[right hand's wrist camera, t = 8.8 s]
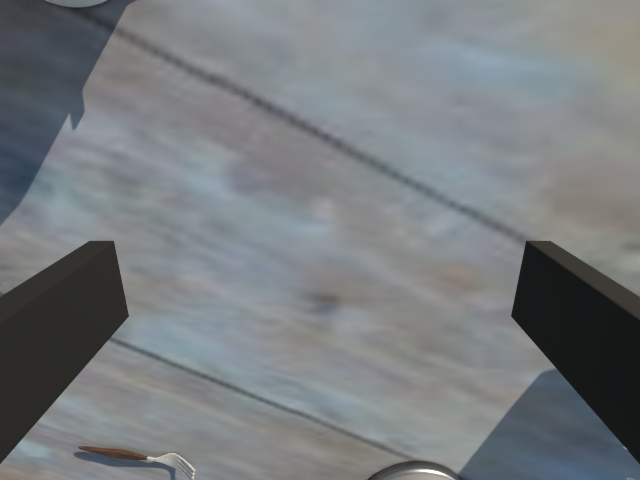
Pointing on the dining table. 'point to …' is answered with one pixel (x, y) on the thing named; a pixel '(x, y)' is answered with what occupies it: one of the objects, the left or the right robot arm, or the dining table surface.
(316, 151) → the dining table surface
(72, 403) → the dining table surface
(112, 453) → the fork
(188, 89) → the dining table surface
